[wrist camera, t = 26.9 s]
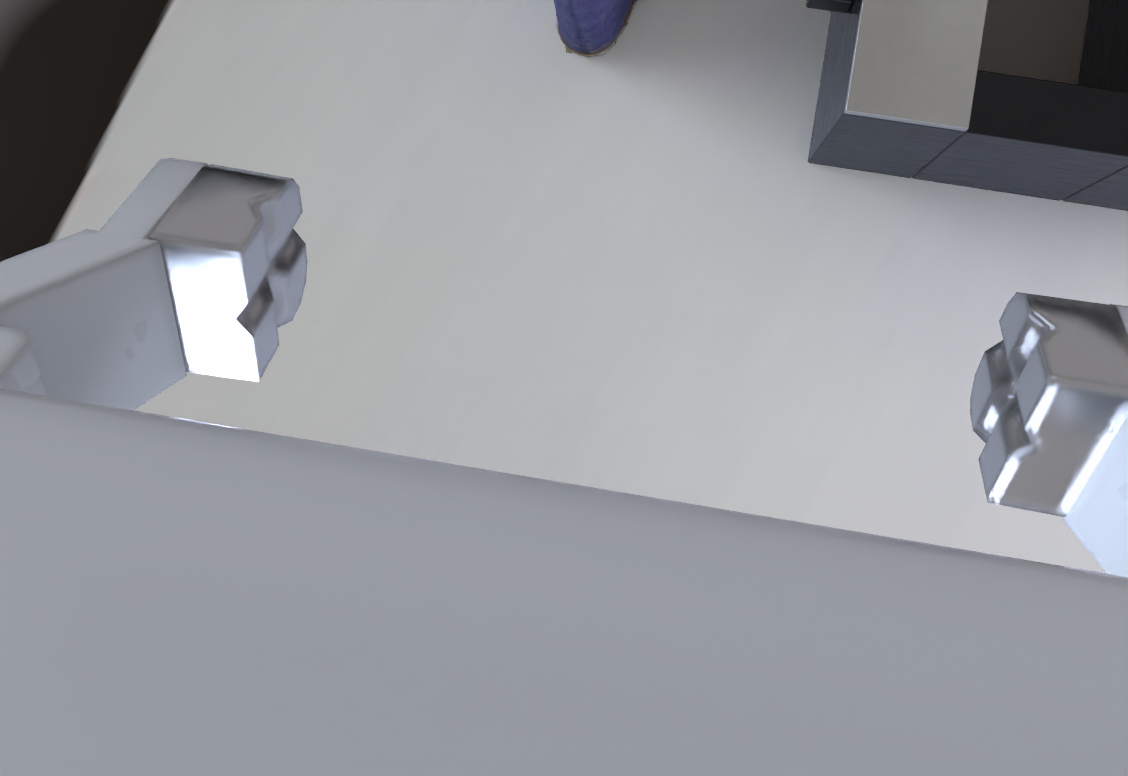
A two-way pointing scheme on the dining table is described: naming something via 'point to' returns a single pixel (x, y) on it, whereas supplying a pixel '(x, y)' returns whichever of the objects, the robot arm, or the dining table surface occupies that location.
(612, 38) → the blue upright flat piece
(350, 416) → the dining table surface
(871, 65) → the glossy black box
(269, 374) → the dining table surface
